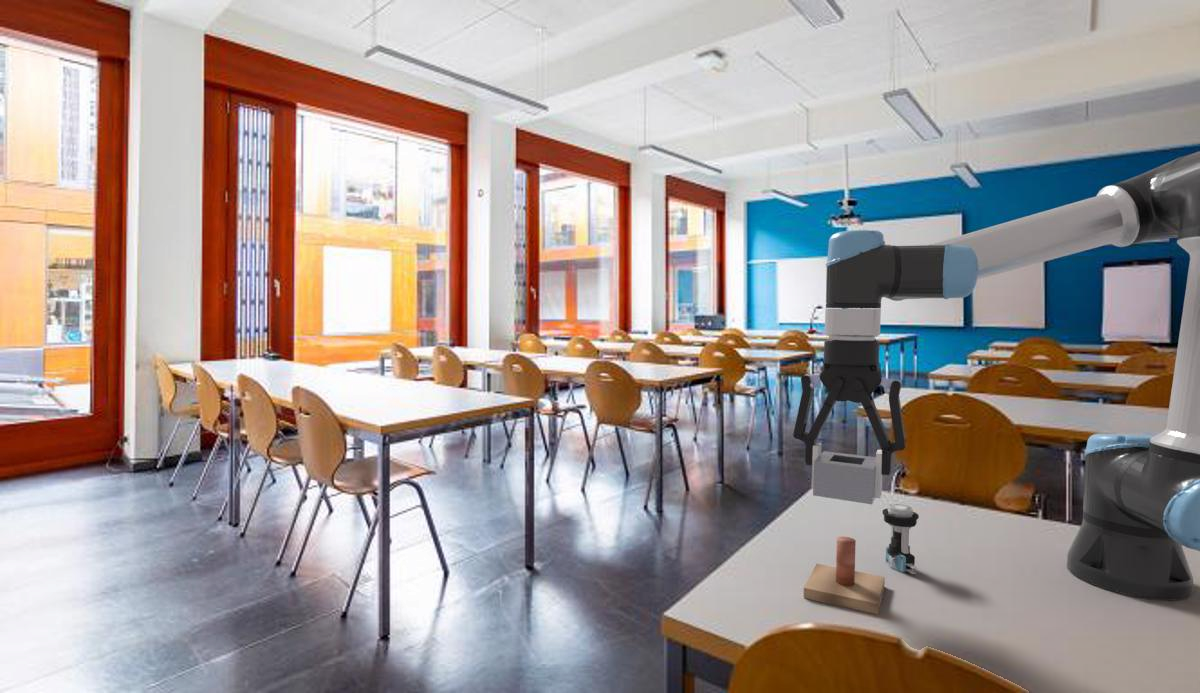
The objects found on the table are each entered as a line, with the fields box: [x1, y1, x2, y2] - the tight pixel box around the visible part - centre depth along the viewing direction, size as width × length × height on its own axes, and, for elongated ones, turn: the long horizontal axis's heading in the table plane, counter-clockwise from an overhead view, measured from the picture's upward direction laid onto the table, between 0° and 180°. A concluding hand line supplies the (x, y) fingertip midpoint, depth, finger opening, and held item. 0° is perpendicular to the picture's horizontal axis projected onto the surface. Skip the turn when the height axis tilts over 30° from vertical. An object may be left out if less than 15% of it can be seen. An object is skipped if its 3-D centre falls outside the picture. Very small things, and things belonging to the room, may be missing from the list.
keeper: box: [803, 536, 886, 615], centre depth 93 cm, size 10×10×8 cm
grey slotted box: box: [812, 450, 876, 505], centre depth 92 cm, size 8×8×5 cm
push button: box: [882, 503, 920, 575], centre depth 102 cm, size 7×5×10 cm
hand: (846, 491), depth 92 cm, fingers closed on grey slotted box, 8 cm apart
